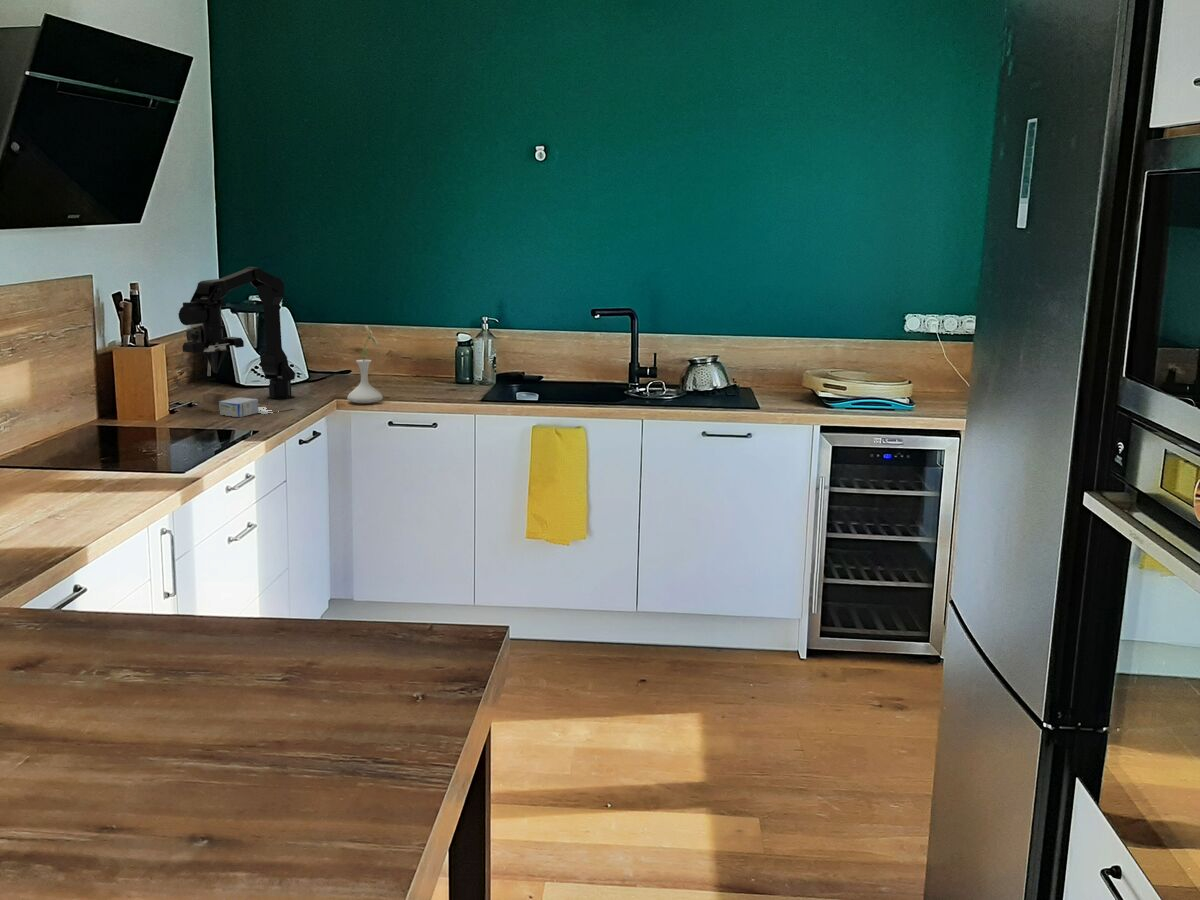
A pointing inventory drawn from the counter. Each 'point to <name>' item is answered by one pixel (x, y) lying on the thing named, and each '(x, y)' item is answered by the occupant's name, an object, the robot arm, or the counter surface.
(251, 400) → the medicine box
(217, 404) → the walnut block
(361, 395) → the flower in vase
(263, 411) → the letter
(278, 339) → the robot arm
